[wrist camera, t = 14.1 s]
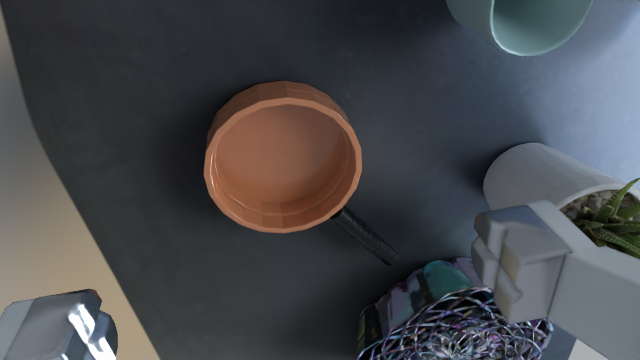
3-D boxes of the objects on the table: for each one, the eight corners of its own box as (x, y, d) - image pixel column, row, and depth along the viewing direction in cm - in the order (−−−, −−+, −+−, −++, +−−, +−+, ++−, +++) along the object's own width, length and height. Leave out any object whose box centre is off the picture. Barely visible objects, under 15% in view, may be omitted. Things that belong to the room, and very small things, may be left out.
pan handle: (326, 210, 45) (330, 222, 44) (341, 198, 45) (345, 210, 43) (382, 256, 50) (387, 269, 49) (396, 246, 50) (401, 259, 48)
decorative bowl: (300, 338, 62) (307, 408, 55) (428, 208, 50) (461, 274, 42) (429, 373, 73) (450, 436, 65) (560, 273, 61) (606, 336, 53)
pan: (174, 150, 41) (169, 175, 38) (283, 45, 38) (288, 62, 34) (278, 227, 49) (282, 255, 45) (378, 146, 45) (391, 168, 41)
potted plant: (599, 140, 49) (783, 264, 33) (519, 229, 55) (641, 373, 39) (523, 97, 45) (694, 216, 28) (443, 199, 50) (547, 348, 34)
